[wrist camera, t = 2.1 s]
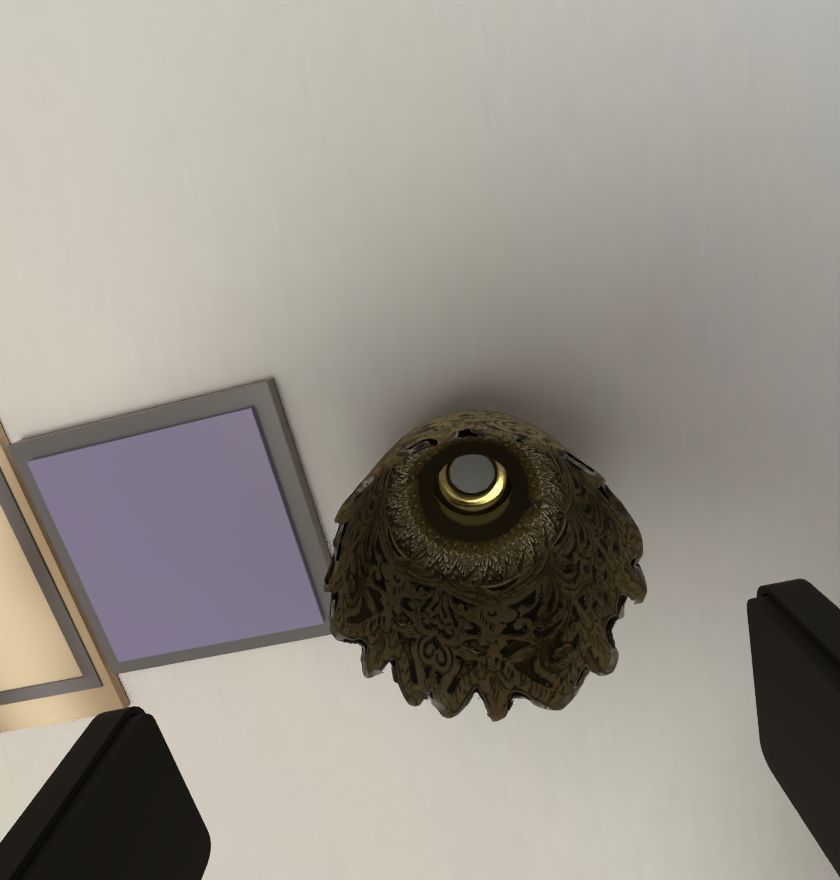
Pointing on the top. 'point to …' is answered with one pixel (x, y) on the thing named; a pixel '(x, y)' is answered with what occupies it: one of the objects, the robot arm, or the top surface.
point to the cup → (483, 568)
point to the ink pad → (184, 527)
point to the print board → (43, 623)
